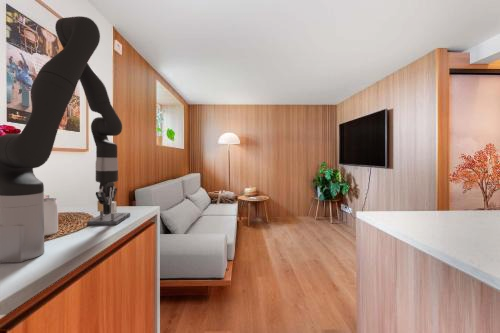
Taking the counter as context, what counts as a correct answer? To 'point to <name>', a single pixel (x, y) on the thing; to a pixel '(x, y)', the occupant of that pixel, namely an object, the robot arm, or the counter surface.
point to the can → (50, 216)
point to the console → (108, 219)
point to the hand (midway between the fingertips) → (107, 213)
